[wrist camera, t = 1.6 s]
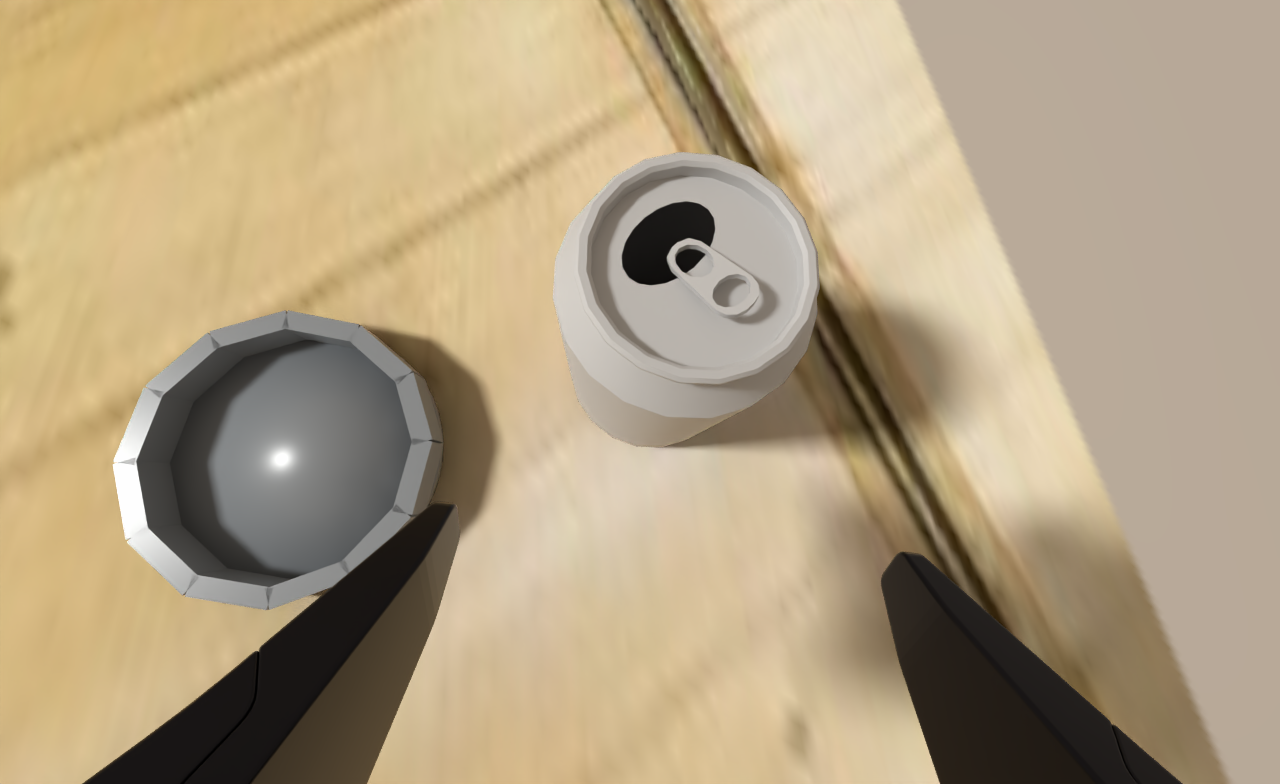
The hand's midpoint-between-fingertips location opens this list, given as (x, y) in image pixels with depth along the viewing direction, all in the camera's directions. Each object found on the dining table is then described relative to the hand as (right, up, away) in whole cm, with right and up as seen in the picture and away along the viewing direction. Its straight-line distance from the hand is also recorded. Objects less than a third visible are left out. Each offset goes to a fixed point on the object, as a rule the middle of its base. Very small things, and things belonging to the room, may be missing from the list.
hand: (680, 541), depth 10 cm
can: (0, +4, +14) cm, 14 cm away
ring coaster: (-16, 0, +12) cm, 19 cm away
